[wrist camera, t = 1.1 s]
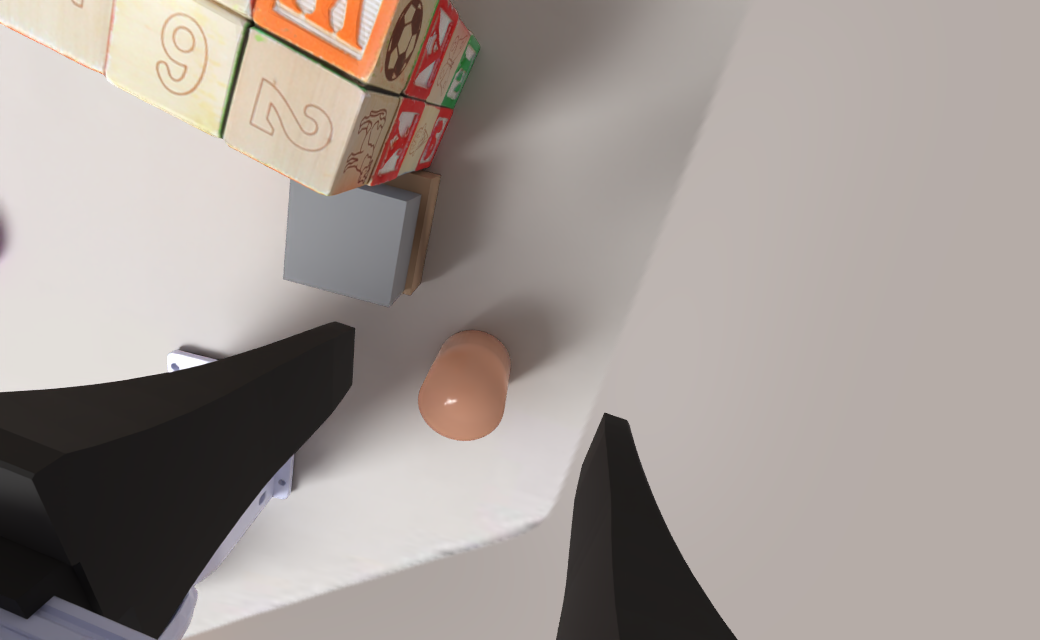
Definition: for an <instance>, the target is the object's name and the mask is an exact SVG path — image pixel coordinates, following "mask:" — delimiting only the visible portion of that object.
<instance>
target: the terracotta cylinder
mask: <svg viewBox="0 0 1040 640" xmlns="http://www.w3.org/2000/svg"><path fill="white" fill-rule="evenodd" d="M510 370H511V360H510V356H509V354H508V351H507V350H506V348H505V346H504V345H503V344H502V343H501V342H500V341H499V340H498V339H497V338H495V337H494V336H492V335H490V334H488V333H485V332H482V331H478V330H466V331H462V332H458V333H456V334H454V335H452V336H451V337H449V338H448V339H447V340H446V341H445V342H444V343H443V345H442V346H441V348H440V350H439V352H438V354H437V356H436V358H435V360H434V362H433V364H432V366H431V368H430V370H429V372H428V374H427V376H426V378H425V380H424V382H423V384H422V386H421V388H420V391H419V396H418V405H419V410H420V413H421V415H422V417H423V419H424V420H425V422H426V423H427V424H428V425H429V426H430V427H431V428H432V429H433V430H434V431H436V432H437V433H439V434H441V435H442V436H445V437H447V438H450V439H454V440H460V441H469V440H475V439H479V438H482V437H484V436H486V435H488V434H489V433H491V432H492V431H493V430H494V429H495V428H496V427H497V426H498V425H499V423H500V421H501V419H502V417H503V413H504V408H505V401H506V395H507V389H508V382H509V376H510Z"/></svg>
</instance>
